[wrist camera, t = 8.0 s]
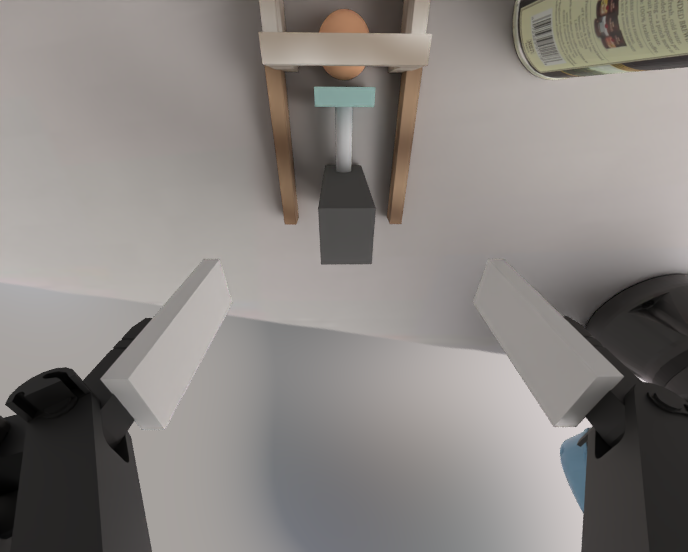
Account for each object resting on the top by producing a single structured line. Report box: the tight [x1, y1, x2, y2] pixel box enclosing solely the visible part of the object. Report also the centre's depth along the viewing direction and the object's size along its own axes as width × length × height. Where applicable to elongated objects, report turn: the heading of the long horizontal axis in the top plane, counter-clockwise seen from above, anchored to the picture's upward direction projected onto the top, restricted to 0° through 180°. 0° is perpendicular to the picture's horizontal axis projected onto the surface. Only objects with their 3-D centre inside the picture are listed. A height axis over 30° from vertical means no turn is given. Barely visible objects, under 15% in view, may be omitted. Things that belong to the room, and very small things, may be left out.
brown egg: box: [319, 9, 369, 80], centre depth 20 cm, size 4×4×4 cm
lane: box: [258, 0, 432, 224], centre depth 21 cm, size 20×12×6 cm, turn 0°
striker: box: [314, 87, 376, 264], centre depth 20 cm, size 10×4×12 cm, turn 0°
